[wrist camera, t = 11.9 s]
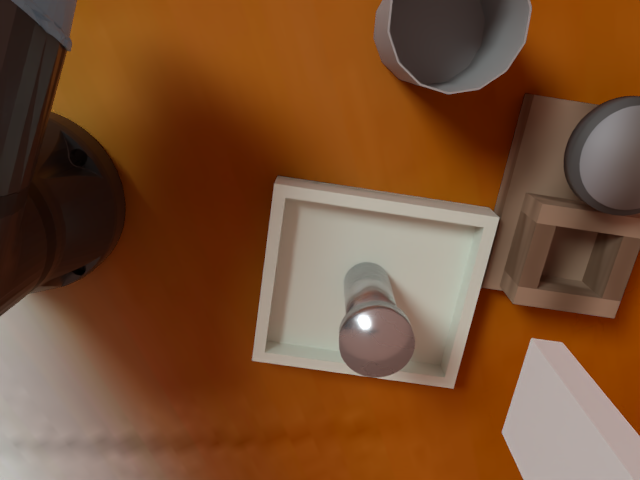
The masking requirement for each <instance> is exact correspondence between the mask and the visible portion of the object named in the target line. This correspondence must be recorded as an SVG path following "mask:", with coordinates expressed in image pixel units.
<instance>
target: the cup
mask: <svg viewBox="0 0 640 480" xmlns="http://www.w3.org/2000/svg"><path fill="white" fill-rule="evenodd" d="M531 10H532V7H531V3H530V0H382V2H381V4H380V6H379V8H378V9H377V11H376V19H375V29H374V41H375V44H376V46H377V49H378V52H379V55H380V58H381V61H382V63H383V64H384V65H385V66H386V67H387V68H388V69H389V70H390V71H391V72H392V73H393V74H394V75H395V76H396V77H397V78H398V79H400V80H403V81H406V82H409V83H412V84H415V85H418V86H421V87H425V88H428V89H432V90H435V91H438V92H442V93H445V94H455V93H461V92H468V91H474V90H479V89H481V88H482V87H484V86H486V85H487V84H489V83H490V82H492V81H493V80H495V79H496V78H498V77H499V76H501V75H502V74H504V73H505V72H507V70H508V69H509V67H510V66H511V64H512V63H513V61H514V60H515V58H516V56H517V55H518V53H519V52H520V50H521V49H522V47H523V46H524V44H525V43H526V38H527V32H528V27H529V21H530V16H531Z"/></svg>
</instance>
